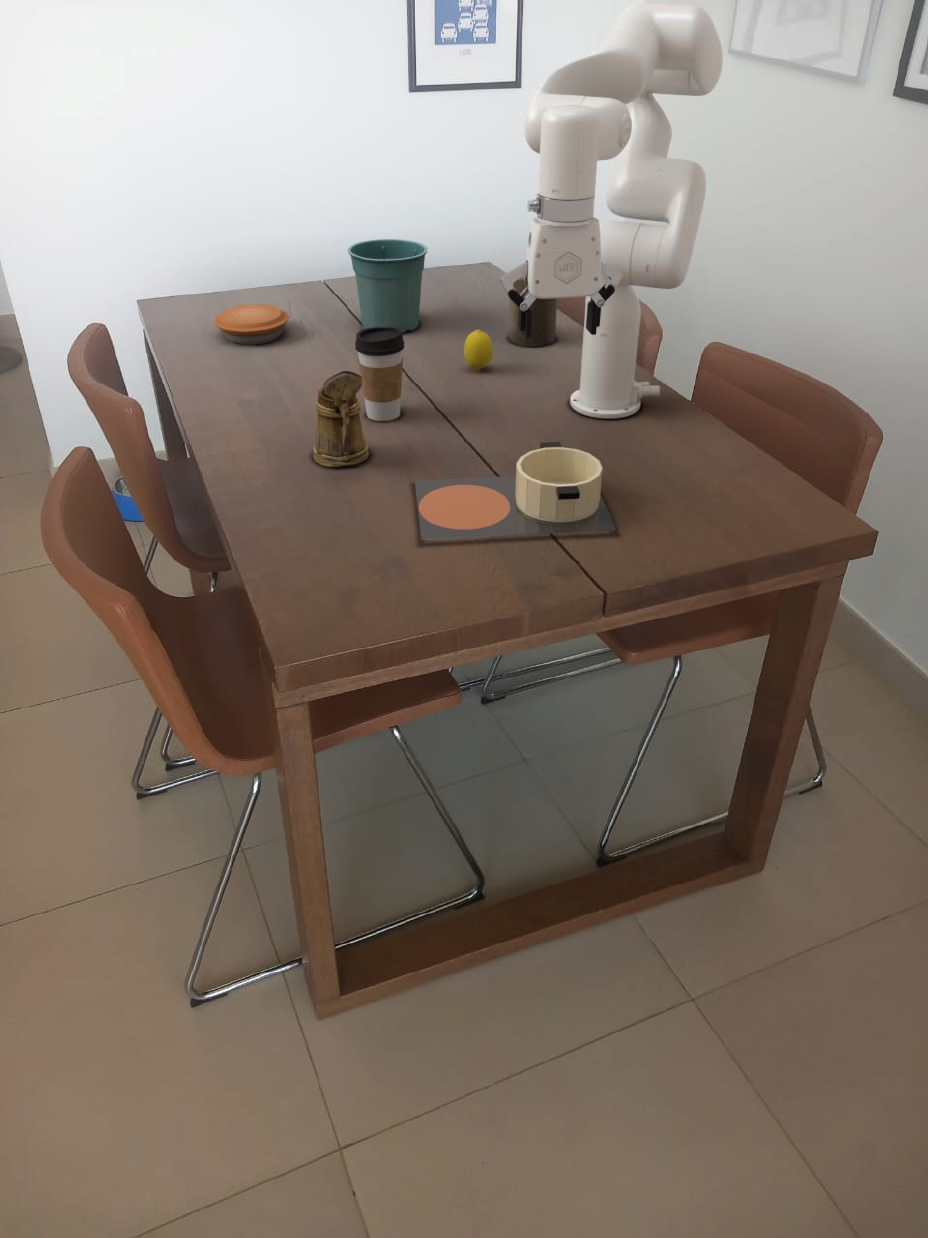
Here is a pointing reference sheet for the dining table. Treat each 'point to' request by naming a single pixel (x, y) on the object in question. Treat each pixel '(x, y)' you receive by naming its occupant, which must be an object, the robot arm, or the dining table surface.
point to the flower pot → (389, 281)
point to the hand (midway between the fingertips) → (558, 333)
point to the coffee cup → (381, 370)
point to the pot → (558, 483)
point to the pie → (252, 323)
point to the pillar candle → (534, 320)
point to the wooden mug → (340, 422)
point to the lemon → (478, 349)
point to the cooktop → (487, 511)
